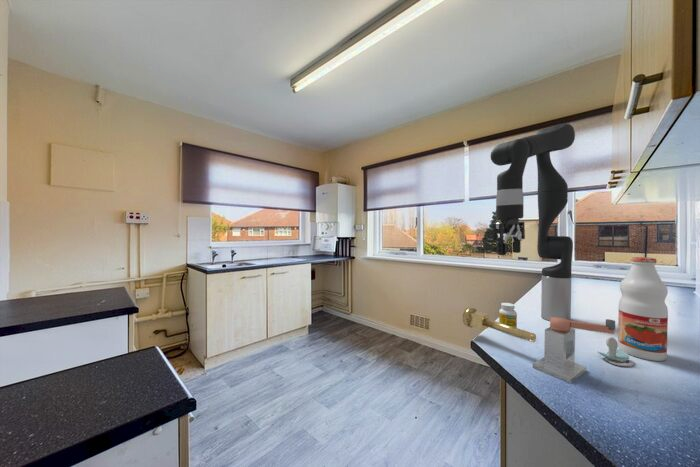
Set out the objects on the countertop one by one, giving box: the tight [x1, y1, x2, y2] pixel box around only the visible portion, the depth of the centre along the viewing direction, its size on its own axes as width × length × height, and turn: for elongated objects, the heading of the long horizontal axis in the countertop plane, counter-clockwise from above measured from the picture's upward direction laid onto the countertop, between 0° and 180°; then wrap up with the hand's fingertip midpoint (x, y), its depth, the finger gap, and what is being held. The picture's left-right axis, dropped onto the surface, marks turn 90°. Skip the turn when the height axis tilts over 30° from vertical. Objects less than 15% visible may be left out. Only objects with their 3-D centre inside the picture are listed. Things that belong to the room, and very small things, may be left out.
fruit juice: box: [617, 256, 669, 362], centre depth 74 cm, size 9×9×28 cm
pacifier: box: [597, 337, 635, 368], centre depth 70 cm, size 7×6×6 cm
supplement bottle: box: [498, 302, 518, 328], centre depth 91 cm, size 5×5×10 cm
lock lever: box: [549, 317, 616, 335], centre depth 64 cm, size 12×4×4 cm, turn 60°
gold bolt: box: [462, 307, 537, 343], centre depth 80 cm, size 6×20×6 cm, turn 31°
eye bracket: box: [532, 326, 588, 384], centre depth 66 cm, size 10×8×10 cm
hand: (509, 253), depth 83 cm, fingers open, 8 cm apart
